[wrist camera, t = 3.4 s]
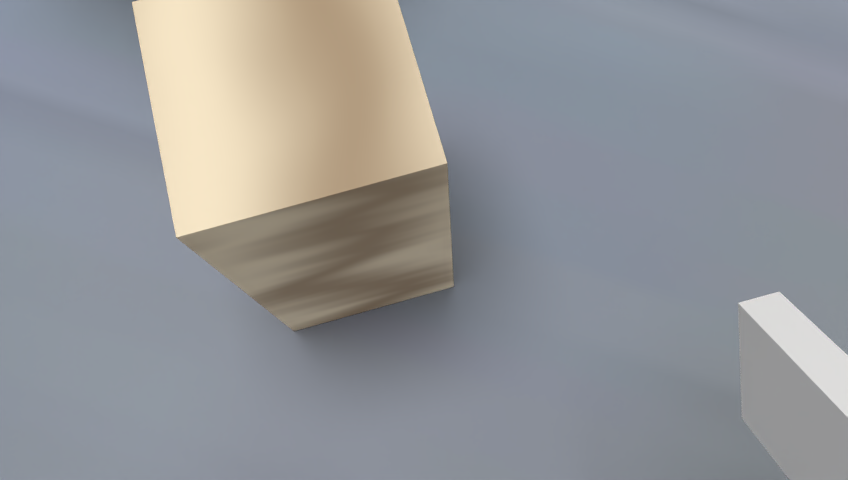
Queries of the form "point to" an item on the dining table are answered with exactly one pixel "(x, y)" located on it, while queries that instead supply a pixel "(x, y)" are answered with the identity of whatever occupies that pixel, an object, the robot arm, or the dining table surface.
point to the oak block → (300, 150)
